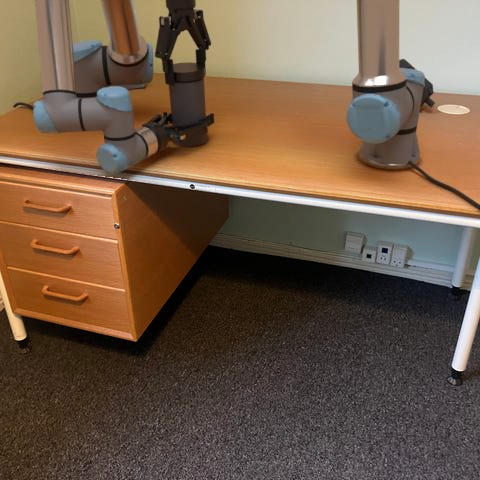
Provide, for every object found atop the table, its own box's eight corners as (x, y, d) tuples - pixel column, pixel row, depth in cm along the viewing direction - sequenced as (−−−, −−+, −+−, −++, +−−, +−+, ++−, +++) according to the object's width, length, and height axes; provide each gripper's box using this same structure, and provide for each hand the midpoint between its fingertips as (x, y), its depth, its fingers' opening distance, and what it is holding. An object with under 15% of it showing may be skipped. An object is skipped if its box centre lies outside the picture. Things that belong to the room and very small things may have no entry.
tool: (374, 89, 181) (400, 53, 170) (416, 126, 177) (445, 91, 166) (365, 93, 177) (391, 56, 166) (408, 131, 173) (438, 96, 162)
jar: (213, 137, 154) (210, 67, 144) (194, 148, 147) (189, 76, 137) (186, 132, 159) (181, 63, 148) (166, 142, 152) (160, 72, 141)
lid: (175, 69, 149) (175, 61, 148) (211, 72, 146) (210, 63, 145) (159, 80, 140) (158, 71, 139) (197, 82, 138) (196, 73, 136)
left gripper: (117, 146, 144) (168, 121, 160) (184, 162, 134) (231, 134, 150) (113, 119, 140) (166, 96, 156) (181, 133, 130) (230, 108, 146)
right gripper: (201, -16, 142) (205, 67, 154) (133, -5, 126) (144, 87, 138) (222, -14, 138) (225, 71, 150) (155, -2, 122) (164, 92, 134)
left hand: (197, 115), depth 153 cm, fingers closed on jar, 10 cm apart
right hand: (186, 79), depth 144 cm, fingers open, 11 cm apart
